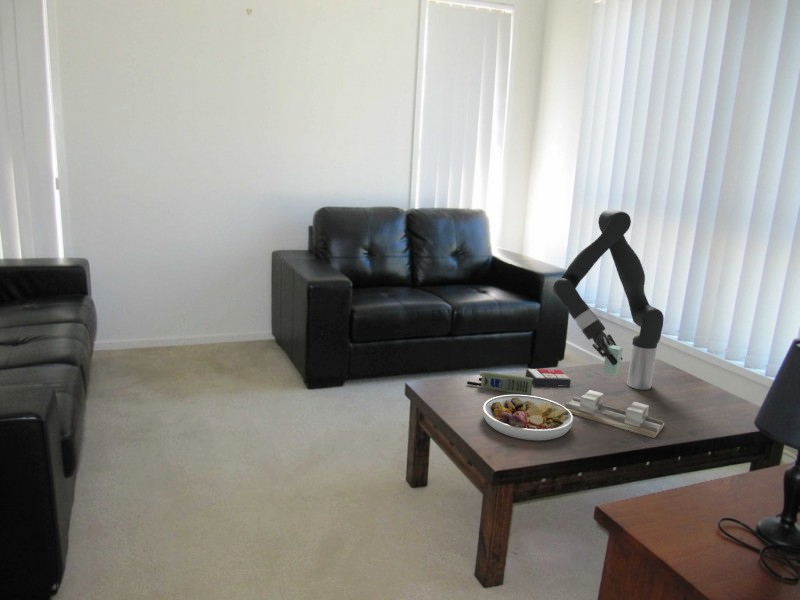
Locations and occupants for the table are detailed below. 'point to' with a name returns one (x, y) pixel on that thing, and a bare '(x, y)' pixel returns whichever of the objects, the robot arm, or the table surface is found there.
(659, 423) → the rail board
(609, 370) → the sage module
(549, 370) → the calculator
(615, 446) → the table surface
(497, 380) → the handheld radio
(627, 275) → the robot arm
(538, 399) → the bowl
